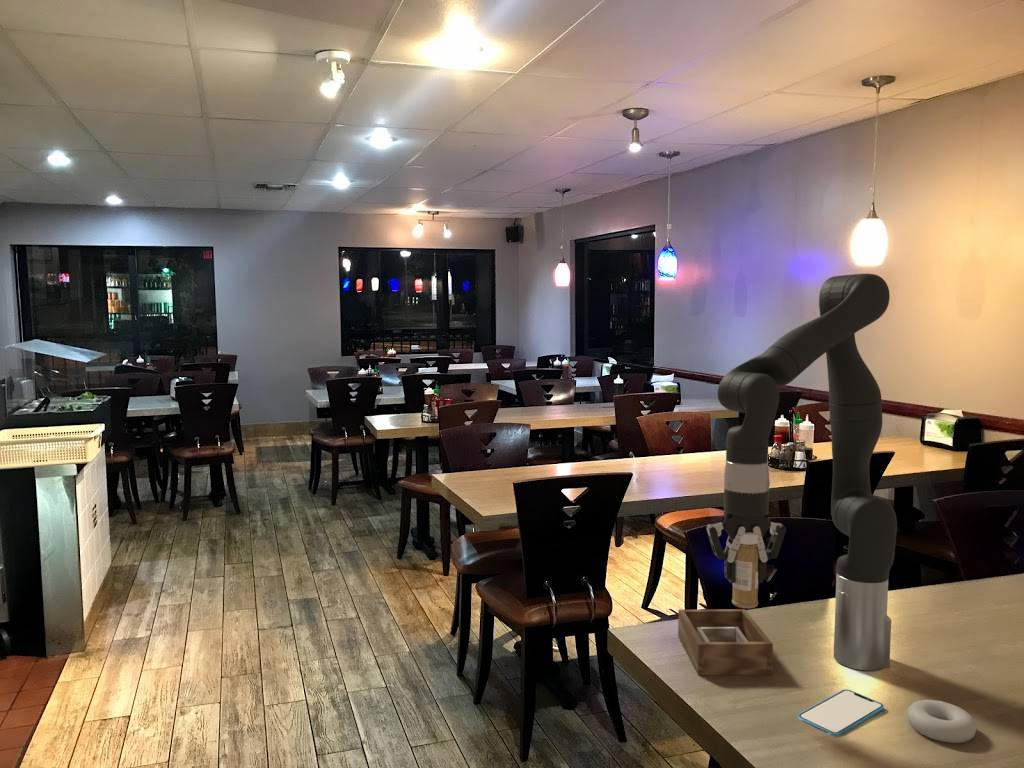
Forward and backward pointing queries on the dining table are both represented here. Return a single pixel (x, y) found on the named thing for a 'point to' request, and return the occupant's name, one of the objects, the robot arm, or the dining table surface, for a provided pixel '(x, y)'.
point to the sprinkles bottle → (746, 572)
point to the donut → (941, 721)
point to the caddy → (724, 642)
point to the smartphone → (841, 712)
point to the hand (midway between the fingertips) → (744, 580)
